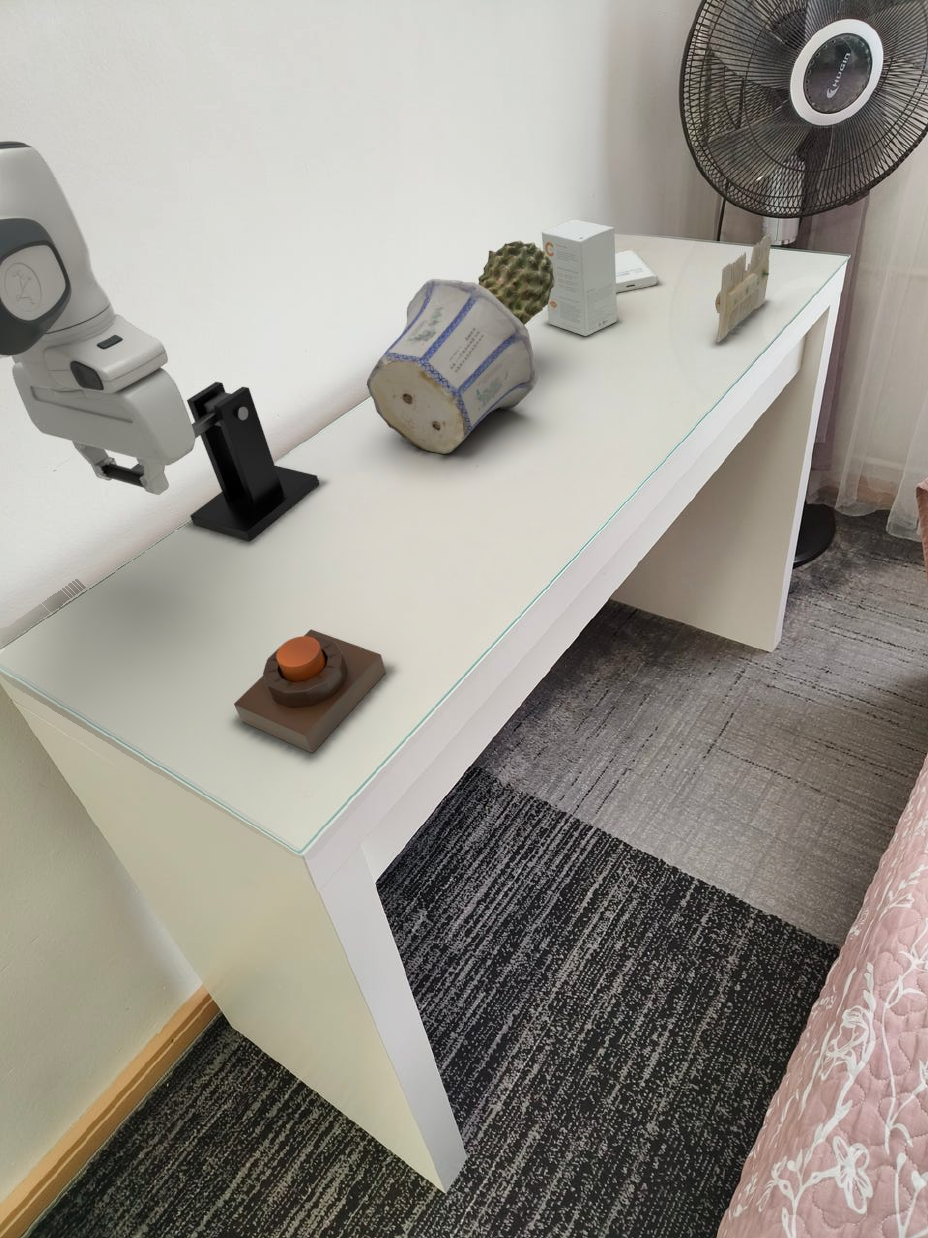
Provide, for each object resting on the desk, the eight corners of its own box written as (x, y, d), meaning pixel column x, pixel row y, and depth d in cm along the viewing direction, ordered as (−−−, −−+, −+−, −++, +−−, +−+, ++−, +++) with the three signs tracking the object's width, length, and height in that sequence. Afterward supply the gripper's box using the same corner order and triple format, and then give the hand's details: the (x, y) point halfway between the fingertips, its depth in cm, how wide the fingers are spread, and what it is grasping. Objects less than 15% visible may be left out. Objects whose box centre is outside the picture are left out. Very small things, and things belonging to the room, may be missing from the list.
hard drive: (633, 259, 139) (657, 284, 129) (584, 269, 139) (604, 295, 129) (633, 249, 138) (657, 274, 128) (584, 258, 137) (604, 284, 128)
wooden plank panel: (754, 301, 120) (760, 227, 113) (771, 303, 119) (778, 228, 112) (710, 344, 112) (714, 267, 105) (727, 347, 110) (733, 268, 104)
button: (306, 687, 68) (300, 671, 67) (273, 674, 70) (267, 658, 69) (333, 658, 70) (328, 643, 69) (301, 646, 72) (296, 631, 71)
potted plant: (457, 360, 85) (585, 190, 97) (326, 347, 94) (458, 194, 106) (505, 484, 98) (612, 321, 110) (385, 462, 107) (497, 314, 120)
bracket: (249, 541, 92) (206, 427, 83) (193, 524, 96) (146, 414, 87) (319, 484, 99) (286, 373, 90) (264, 470, 103) (227, 363, 94)
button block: (312, 754, 67) (299, 720, 65) (241, 721, 71) (226, 688, 69) (386, 672, 73) (376, 638, 71) (316, 646, 77) (305, 613, 75)
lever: (152, 496, 81) (141, 476, 80) (112, 485, 84) (101, 465, 83) (256, 416, 90) (248, 396, 88) (216, 408, 93) (208, 388, 91)
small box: (618, 322, 121) (615, 226, 113) (585, 337, 119) (580, 241, 110) (579, 309, 126) (574, 217, 118) (547, 324, 124) (540, 231, 116)
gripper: (-25, 349, 77) (43, 480, 86) (118, 377, 67) (179, 522, 76) (32, 322, 81) (93, 450, 90) (176, 345, 71) (228, 486, 80)
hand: (133, 483), depth 83 cm, fingers closed on lever, 6 cm apart
